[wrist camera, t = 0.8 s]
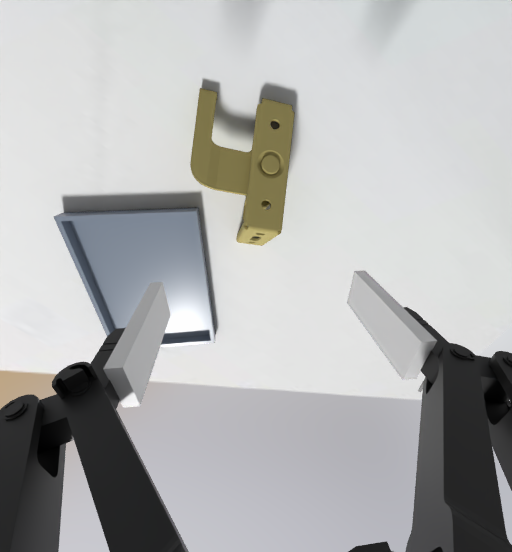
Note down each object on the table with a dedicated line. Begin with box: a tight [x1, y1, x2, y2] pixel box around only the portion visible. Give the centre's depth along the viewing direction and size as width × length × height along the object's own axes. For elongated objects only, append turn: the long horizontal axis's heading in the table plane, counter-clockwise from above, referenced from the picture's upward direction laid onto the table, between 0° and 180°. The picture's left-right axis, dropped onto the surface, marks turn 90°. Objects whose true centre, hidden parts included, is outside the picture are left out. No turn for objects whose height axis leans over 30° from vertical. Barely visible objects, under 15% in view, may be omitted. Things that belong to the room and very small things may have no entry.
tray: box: [54, 208, 215, 347], centre depth 36 cm, size 23×17×2 cm
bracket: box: [191, 88, 294, 246], centre depth 29 cm, size 10×14×10 cm
